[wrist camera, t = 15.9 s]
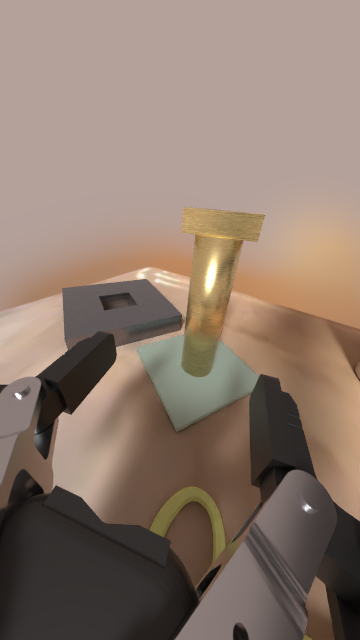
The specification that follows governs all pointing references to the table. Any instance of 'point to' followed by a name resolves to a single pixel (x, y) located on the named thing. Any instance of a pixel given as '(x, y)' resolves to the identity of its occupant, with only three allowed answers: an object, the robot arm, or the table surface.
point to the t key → (212, 279)
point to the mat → (195, 381)
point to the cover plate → (117, 312)
